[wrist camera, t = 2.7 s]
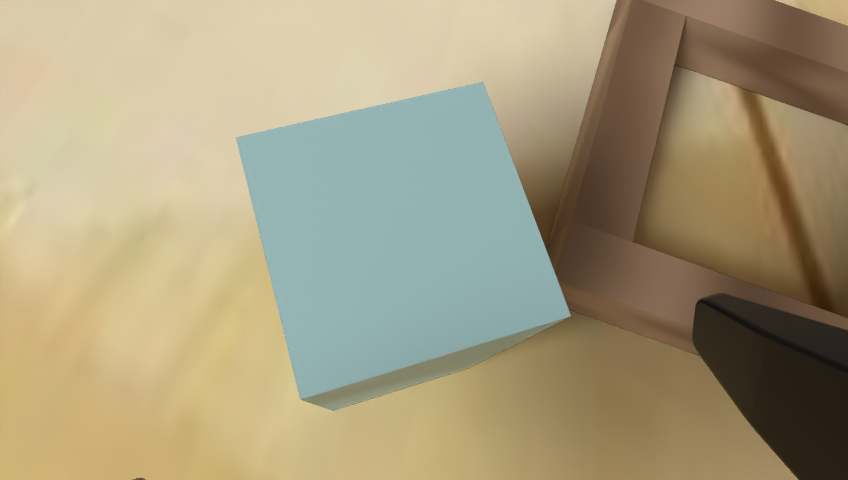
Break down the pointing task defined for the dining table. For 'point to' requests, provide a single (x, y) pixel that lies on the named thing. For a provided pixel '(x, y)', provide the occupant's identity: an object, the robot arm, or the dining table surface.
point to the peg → (397, 244)
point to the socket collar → (636, 137)
